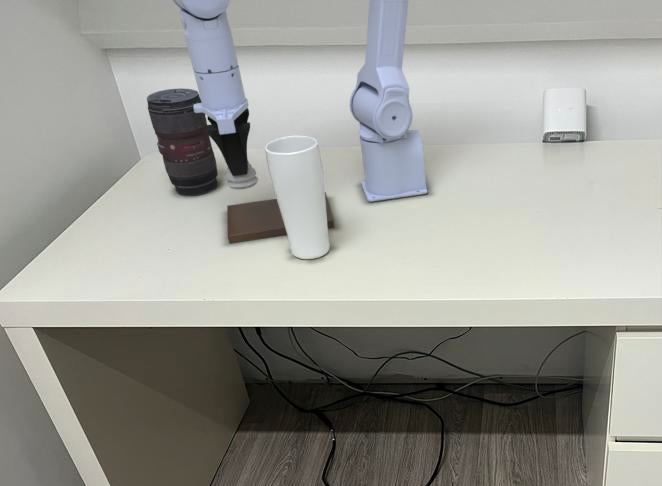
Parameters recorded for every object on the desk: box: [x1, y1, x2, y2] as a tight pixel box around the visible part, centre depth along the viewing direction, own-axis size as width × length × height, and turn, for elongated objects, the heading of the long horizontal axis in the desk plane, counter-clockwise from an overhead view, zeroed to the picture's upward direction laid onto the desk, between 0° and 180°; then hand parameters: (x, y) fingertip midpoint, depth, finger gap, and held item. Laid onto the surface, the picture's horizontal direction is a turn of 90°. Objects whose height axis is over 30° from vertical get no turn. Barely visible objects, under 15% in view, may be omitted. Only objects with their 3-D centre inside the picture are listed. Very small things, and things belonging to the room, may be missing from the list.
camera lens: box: [146, 88, 219, 197], centre depth 118 cm, size 8×8×15 cm
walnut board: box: [226, 191, 336, 244], centre depth 111 cm, size 15×11×1 cm
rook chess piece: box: [225, 158, 259, 190], centre depth 104 cm, size 4×4×8 cm
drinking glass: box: [264, 135, 331, 260], centre depth 98 cm, size 7×7×15 cm
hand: (239, 169), depth 105 cm, fingers closed on rook chess piece, 3 cm apart
